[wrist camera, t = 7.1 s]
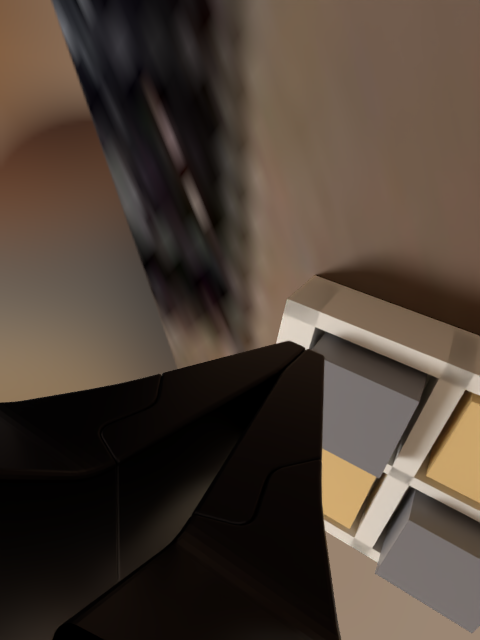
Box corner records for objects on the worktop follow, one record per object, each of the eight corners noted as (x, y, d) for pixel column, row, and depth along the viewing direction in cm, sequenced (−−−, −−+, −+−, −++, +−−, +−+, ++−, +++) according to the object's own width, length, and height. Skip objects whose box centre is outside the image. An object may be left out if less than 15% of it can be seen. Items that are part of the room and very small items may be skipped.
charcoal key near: (430, 364, 18) (419, 401, 16) (393, 436, 20) (379, 478, 18) (332, 324, 19) (309, 352, 17) (308, 395, 22) (285, 429, 20)
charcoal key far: (520, 525, 19) (523, 583, 16) (475, 576, 21) (472, 633, 19) (419, 473, 20) (408, 519, 18) (387, 526, 23) (375, 573, 20)
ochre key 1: (390, 437, 22) (377, 475, 20) (363, 489, 25) (349, 529, 22) (312, 399, 24) (292, 430, 21) (295, 452, 26) (275, 485, 24)
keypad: (671, 406, 16) (706, 466, 13) (505, 577, 23) (506, 640, 20) (314, 275, 21) (287, 298, 18) (267, 445, 28) (242, 480, 25)
